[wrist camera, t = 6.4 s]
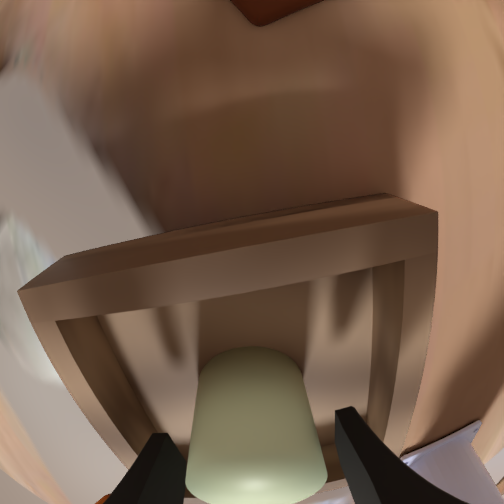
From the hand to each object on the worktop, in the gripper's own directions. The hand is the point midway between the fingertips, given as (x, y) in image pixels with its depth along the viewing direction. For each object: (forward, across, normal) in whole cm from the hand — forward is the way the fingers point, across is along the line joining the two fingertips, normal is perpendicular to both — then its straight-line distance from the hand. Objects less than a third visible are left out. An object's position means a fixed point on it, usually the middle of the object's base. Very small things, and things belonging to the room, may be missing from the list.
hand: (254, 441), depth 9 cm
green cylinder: (+3, 0, 0) cm, 3 cm away
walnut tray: (+4, 0, 0) cm, 4 cm away
